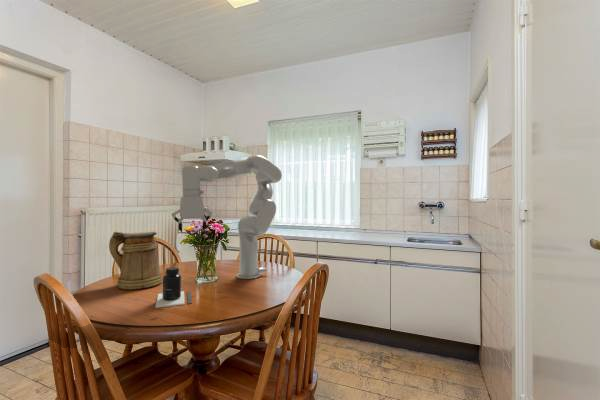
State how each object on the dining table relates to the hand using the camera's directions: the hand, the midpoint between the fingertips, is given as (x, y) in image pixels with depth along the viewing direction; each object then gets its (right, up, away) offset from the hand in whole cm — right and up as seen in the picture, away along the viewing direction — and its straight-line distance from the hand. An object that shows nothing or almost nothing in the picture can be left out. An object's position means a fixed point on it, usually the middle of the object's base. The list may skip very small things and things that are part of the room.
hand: (192, 231), depth 134 cm
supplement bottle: (-3, -26, -15) cm, 30 cm away
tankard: (-29, -26, +5) cm, 39 cm away
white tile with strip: (-2, -26, -14) cm, 30 cm away
